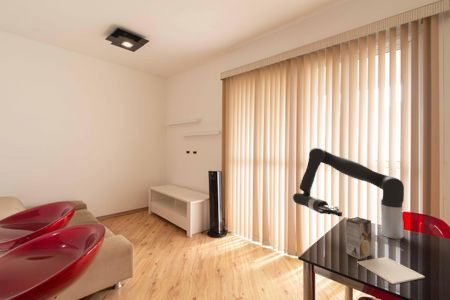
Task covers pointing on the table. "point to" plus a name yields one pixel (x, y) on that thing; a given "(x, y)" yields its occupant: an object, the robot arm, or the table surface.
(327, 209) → the robot arm
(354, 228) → the coffee box
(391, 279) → the mat
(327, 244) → the table surface
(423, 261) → the table surface
